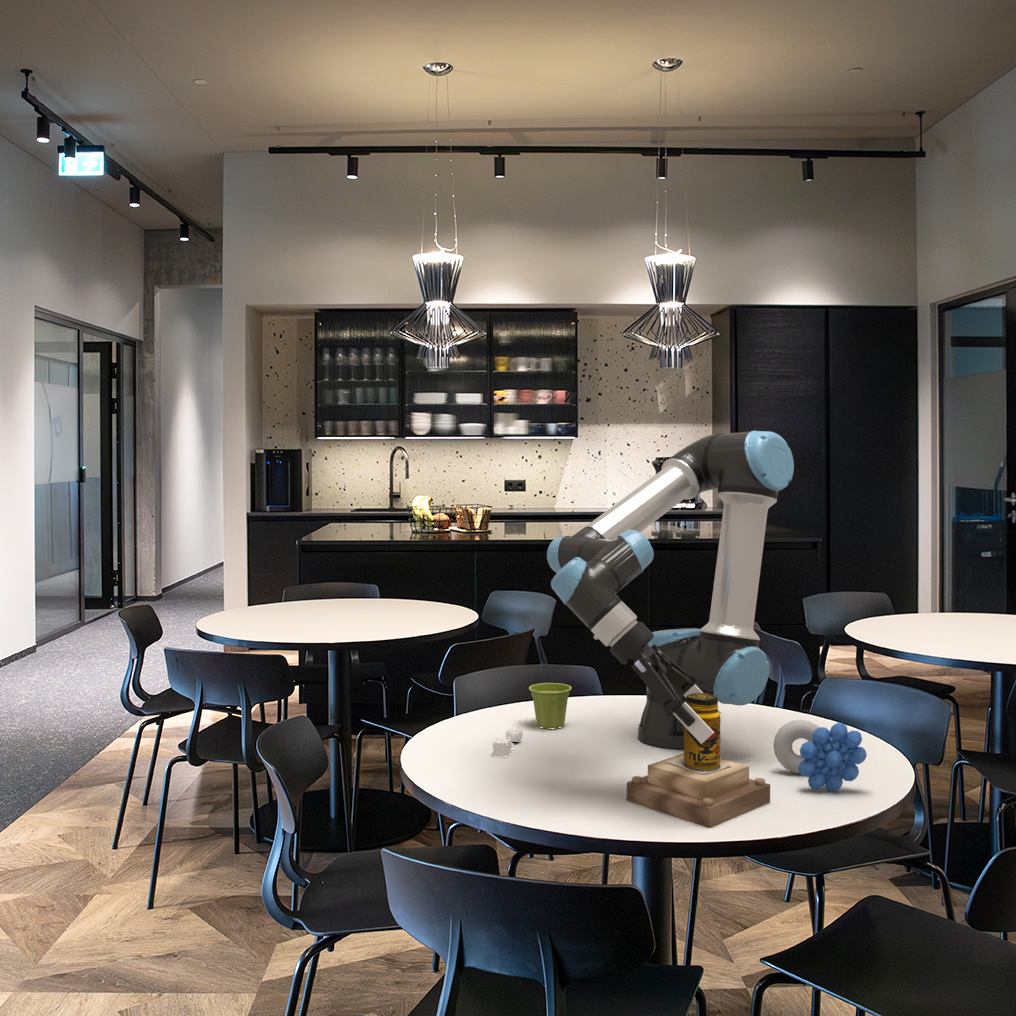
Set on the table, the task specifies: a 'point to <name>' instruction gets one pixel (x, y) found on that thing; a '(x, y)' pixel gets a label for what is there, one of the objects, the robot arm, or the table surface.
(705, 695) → the condiment
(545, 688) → the plant pot
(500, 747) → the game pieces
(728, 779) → the wooden riser
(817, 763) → the blue sphere flower
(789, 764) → the donut
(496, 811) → the table surface
